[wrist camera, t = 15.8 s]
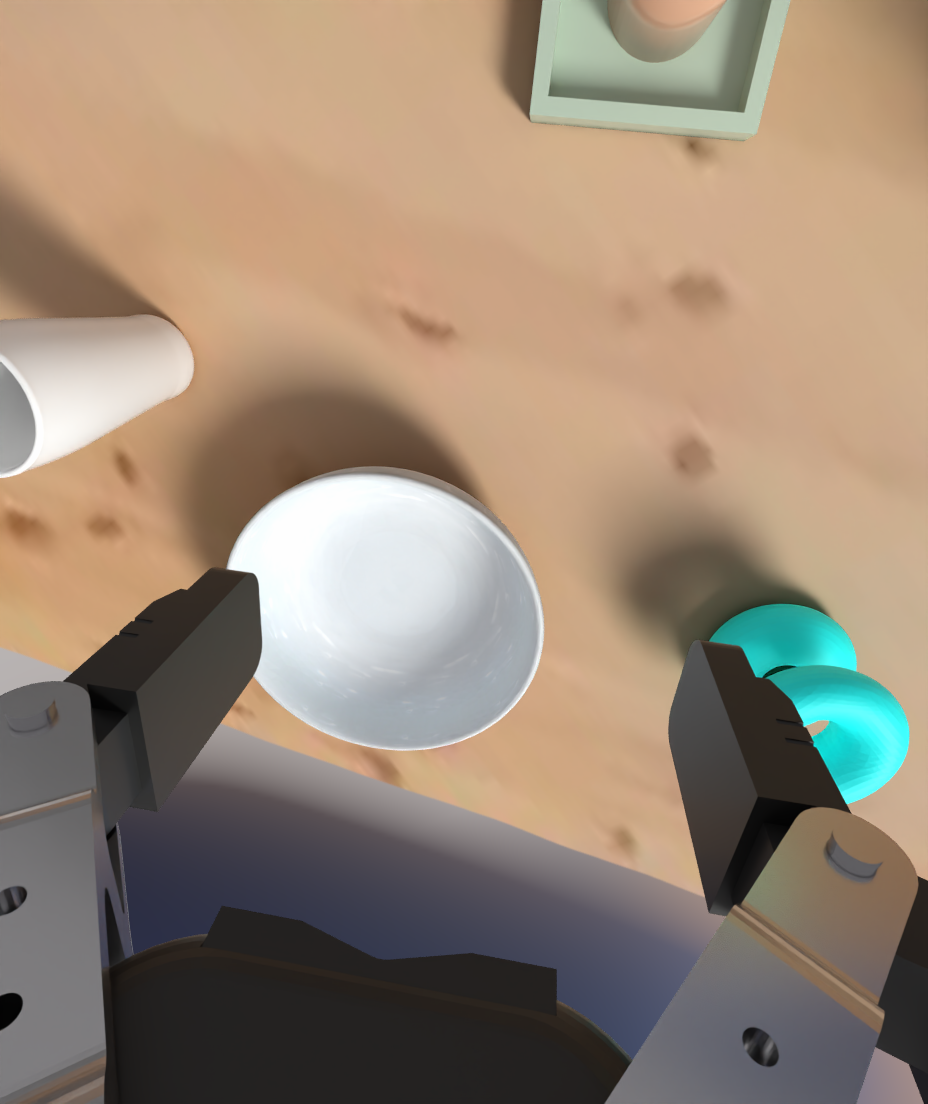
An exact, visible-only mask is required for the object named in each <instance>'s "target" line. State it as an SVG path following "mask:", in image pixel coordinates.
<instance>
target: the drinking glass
mask: <svg viewBox="0 0 928 1104" xmlns="http://www.w3.org/2000/svg"><path fill="white" fill-rule="evenodd" d="M193 374H194V358H193V354H192V350H191V348H190V346H189V343H188V342H187V340H186V338H185V337H184V336H183V334H182V333H181V332H180V331H179V330H178V329H177V328H176V327H175V326H174V325H173V324H171V323H170V322H168V321H167V320H165V319H163V318H160V317H158V316H154V315H149V314H139V315H131V316H124V317H76V318H17V319H3V320H0V478H5V477H11V476H15V475H18V474H20V473H23V472H26V471H29V470H32V469H35V468H37V467H40V466H43V465H46V464H48V463H51V462H53V461H56V460H58V459H60V458H63V457H65V456H67V455H69V454H72V453H74V452H76V451H78V450H80V449H82V448H84V447H85V446H87V445H89V444H91V443H93V442H94V441H96V440H98V439H100V438H101V437H103V436H105V435H106V434H108V433H110V432H112V431H113V430H115V429H117V428H118V427H120V426H122V425H124V424H125V423H127V422H129V421H130V420H132V419H134V418H136V417H137V416H139V415H141V414H143V413H144V412H146V411H148V410H150V409H151V408H153V407H155V406H157V405H159V404H160V403H162V402H164V401H167V400H170V399H172V398H174V397H176V396H178V395H180V394H181V393H182V392H184V391H185V390H186V389H187V387H188V386H189V384H190V383H191V380H192V377H193Z"/></svg>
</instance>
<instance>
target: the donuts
mask: <svg viewBox="0 0 928 1104" xmlns="http://www.w3.org/2000/svg"><path fill="white" fill-rule="evenodd" d="M709 641H710V642H717V643H724V644H730V645H737V646H740V647H741V648H742V649H743V651H744V653H745V655H746V657H747V659H748V661H749V663H750V665H751V668H752V670H753V672H754V674H755V676H756V677H760V678H762V677H763V676H764V675H765V674H766V673H767V672H768V671H769V670H771V669H773V668H775V667H778V666H784V665H791V666H796V667H795V668H790V669H787V670H783V671H780V672H777V673H775V674H773V675H770V676H768V677H766V679H770V680H771V681H772V682H773V683H774V684H775V685H776V686H777V687H778V688H779V689H780V690H781V691H783V692H784V693H785V694H786V695H787V696H788V697H789V698H790V699H791V700H792V701H793V703H794V705H795V707H796V709H797V711H798V713H799V715H800V717H801V719H802V720H803V722H804V726H806V725H809V724H811V723H814V722H816V721H818V720H829V724H828V725H827V727H826V728H825V729H824V730H823V731H822V732H820V733H819V734H817V735H815V736H812V737H811V738H812V739H813V741H814V747H817V749H818V751H819V753H820V755H821V757H822V758H823V760H824V762H825V764H826V766H827V768H828V770H829V772H830V774H831V776H832V778H833V779H834V781H835V783H836V785H837V787H838V789H839V791H840V793H841V795H842V797H843V798H844V800H845V802H846V804H848V803H851V802H854V801H857V800H859V799H862V798H864V797H866V796H868V795H870V794H872V793H873V792H875V791H876V790H878V789H879V788H881V787H882V786H883V785H884V784H885V783H886V782H888V781H889V780H890V779H891V778H892V777H893V776H894V774H895V773H896V772H897V771H898V769H899V768H900V766H901V765H902V763H903V761H904V759H905V756H906V754H907V750H908V745H909V726H908V722H907V719H906V716H905V713H904V711H903V709H902V707H901V705H900V704H899V703H898V701H897V700H896V698H895V697H894V696H893V695H892V694H891V693H890V692H889V691H888V690H887V689H886V688H885V687H883V686H882V685H881V684H880V683H878V682H877V681H875V680H873V679H872V678H870V677H868V676H866V675H864V674H861V673H859V672H856V665H857V661H856V654H855V650H854V647H853V644H852V642H851V640H850V638H849V637H848V635H847V634H846V632H845V631H844V630H843V629H842V627H841V626H840V625H839V624H838V623H836V622H835V621H834V620H833V619H831V618H830V617H828V616H826V615H825V614H823V613H821V612H819V611H817V610H814V609H812V608H809V607H805V606H800V605H794V604H770V605H764V606H759V607H756V608H752V609H749V610H747V611H744V612H742V613H740V614H738V615H736V616H734V617H733V618H731V619H730V620H728V621H727V622H726V623H725V624H723V625H722V626H721V627H720V628H719V629H718V630H717V631H716V632H715V633H714V635H713V636H712V637H711V639H710V640H709Z"/></svg>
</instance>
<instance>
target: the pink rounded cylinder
mask: <svg viewBox="0 0 928 1104" xmlns="http://www.w3.org/2000/svg"><path fill="white" fill-rule="evenodd" d="M726 1H727V0H607V10H608V18H609V23H610V27H611V29H612V32H613V34H614V36H615V38H616V40H617V42H618V43H619V45H620V46H621V47H622V48H623V49H624V50H625V51H626V52H627V53H628V54H629V55H631V56H632V57H634V58H636V59H638V60H641V61H644V62H649V63H660V62H666V61H669V60H672V59H674V58H676V57H679V56H680V55H682V54H684V53H685V52H687V51H688V50H689V49H690V48H691V47H693V46H694V45H695V44H696V43H697V42H698V41H699V39H700V38H701V37H702V36H703V34H704V33H705V32H706V30H707V29H708V27H709V26H710V24H711V23H712V22H713V20H714V19H715V17H716V16H717V14H718V13H719V11H720V10H721V9H722V7H723V6H724V4H725V3H726Z"/></svg>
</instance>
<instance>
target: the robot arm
mask: <svg viewBox="0 0 928 1104" xmlns="http://www.w3.org/2000/svg"><path fill="white" fill-rule="evenodd" d="M261 653H262V628H261V613H260V597H259V583H258V579H257V577H256V575H255V574H254V573H249V572H243V571H236V570H229V569H222V568H211V569H210V570H208V571H207V572H206V573H205V574H204V575H203V576H202V577H201V578H200V579H199V580H197V581H196V582H195V583H194V584H193V585H192V586H191V587H190V588H189V589H188V590H184V589H179V590H177V591H175V592H173V593H171V594H169V595H166V596H164V597H162V598H160V599H158V600H156V601H154V602H153V603H151V604H150V605H149V606H148V607H147V608H146V609H145V610H143V611H142V612H141V613H140V614H139V615H138V616H137V617H135V621H131V622H130V623H129V624H128V625H126V626H125V627H124V628H123V629H122V630H121V631H120V633H119V635H115V636H114V637H113V638H112V639H111V640H109V641H108V642H107V643H106V644H105V645H104V646H103V647H101V648H100V649H99V650H98V651H97V652H96V653H95V654H93V655H92V656H91V657H90V658H89V659H88V660H87V661H86V662H84V663H83V664H82V665H81V666H80V667H79V668H78V669H76V670H75V671H74V672H73V673H72V674H71V675H70V676H69V677H68V678H66V679H65V680H64V681H63V682H61V681H51V682H41V683H35V684H30V685H27V686H23V687H20V688H17V689H14V690H12V691H9V692H7V693H5V694H3V695H1V696H0V1104H856V1103H857V1100H858V1097H859V1094H860V1091H861V1088H862V1085H863V1082H864V1079H865V1076H866V1073H867V1070H868V1067H869V1064H870V1061H871V1058H872V1055H873V1052H874V1049H875V1047H877V1048H878V1049H881V1050H882V1051H884V1052H886V1053H888V1054H890V1055H892V1056H894V1057H896V1058H898V1059H900V1060H902V1061H904V1062H906V1063H908V1064H909V1066H910V1068H911V1071H912V1074H913V1076H914V1079H915V1082H916V1084H917V1087H918V1089H919V1092H920V1094H921V1097H922V1100H923V1102H924V1104H928V881H927V880H925V879H923V878H921V877H918V876H917V874H916V871H915V868H914V866H913V864H912V863H911V861H910V859H909V858H908V856H907V855H906V854H905V852H904V851H903V850H902V849H901V848H900V847H899V845H898V844H897V843H896V842H895V841H893V840H892V839H891V838H890V837H889V836H888V835H887V834H885V833H884V832H883V831H881V830H880V829H879V828H877V827H876V826H874V825H872V824H871V823H869V822H867V821H866V820H864V819H862V818H860V817H858V816H855V815H853V814H851V812H850V810H849V808H848V806H847V804H846V802H845V800H844V798H843V797H842V795H841V793H840V791H839V789H838V787H837V785H836V783H835V781H834V779H833V778H832V776H831V774H830V772H829V770H828V768H827V766H826V764H825V762H824V760H823V758H822V757H821V755H820V753H819V751H818V749H817V747H814V741H813V739H812V738H811V736H810V734H809V732H808V730H807V728H805V727H804V722H803V720H802V719H801V717H800V715H799V713H798V711H797V709H796V707H795V705H794V703H793V701H792V700H791V699H790V698H789V697H788V696H787V695H786V694H785V693H784V692H783V691H781V690H780V689H779V688H778V687H777V686H776V685H775V684H774V683H773V682H772V681H771V680H770V679H766V678H760V677H756V676H755V674H754V672H753V670H752V668H751V665H750V663H749V661H748V659H747V657H746V655H745V653H744V651H743V649H742V648H741V647H740V646H737V645H730V644H724V643H717V642H710V641H703V640H695V641H694V642H693V643H692V644H691V646H690V648H689V651H688V654H687V658H686V661H685V664H684V667H683V671H682V674H681V677H680V681H679V684H678V687H677V690H676V694H675V697H674V700H673V703H672V707H671V711H670V716H669V728H668V734H669V743H670V748H671V752H672V757H673V761H674V765H675V770H676V774H677V778H678V782H679V787H680V791H681V795H682V800H683V804H684V808H685V813H686V817H687V821H688V825H689V830H690V834H691V838H692V843H693V847H694V851H695V856H696V860H697V864H698V868H699V873H700V877H701V881H702V886H703V890H704V894H705V898H706V903H707V907H708V911H709V913H712V914H717V915H722V916H726V918H725V919H724V921H723V922H722V924H721V926H720V927H719V929H718V930H717V932H716V933H715V935H714V936H713V938H712V939H711V941H710V942H709V944H708V945H707V947H706V949H705V950H704V952H703V953H702V955H701V956H700V958H699V959H698V961H697V962H696V964H695V965H694V967H693V969H692V970H691V972H690V973H689V975H688V976H687V978H686V979H685V981H684V982H683V984H682V986H681V987H680V988H679V990H678V992H677V993H676V995H675V996H674V998H673V999H672V1001H671V1003H670V1004H669V1006H668V1007H667V1009H666V1010H665V1012H664V1013H663V1015H662V1016H661V1018H660V1019H659V1021H658V1023H657V1024H656V1025H655V1027H654V1029H653V1030H652V1032H651V1033H650V1035H649V1036H648V1038H647V1040H646V1041H645V1042H644V1044H643V1045H642V1047H641V1048H640V1050H639V1051H638V1053H637V1055H636V1056H635V1058H634V1059H633V1060H632V1059H631V1057H630V1056H629V1055H628V1054H627V1053H626V1052H625V1051H624V1050H623V1049H622V1048H621V1047H620V1046H619V1045H618V1044H617V1043H616V1042H615V1041H614V1040H613V1039H612V1038H611V1037H610V1036H609V1035H608V1034H606V1033H605V1032H604V1031H603V1030H602V1029H601V1028H599V1027H598V1026H597V1025H596V1024H594V1023H593V1022H592V1021H591V1020H589V1019H588V1018H586V1017H585V1016H583V1015H582V1014H580V1013H579V1012H577V1011H576V1010H574V1009H573V1008H571V1007H569V1006H567V1005H565V1004H563V1003H562V1002H560V1001H558V1000H557V996H556V994H557V991H556V989H557V975H556V973H557V970H556V969H553V968H547V967H542V966H537V965H532V964H526V963H520V962H516V961H510V960H505V959H500V958H495V957H489V956H484V955H478V954H474V953H468V954H456V955H444V956H430V957H418V958H406V959H394V960H382V959H377V958H375V957H372V956H370V955H368V954H366V953H364V952H362V951H360V950H358V949H356V948H354V947H352V946H350V945H348V944H346V943H344V942H342V941H340V940H338V939H336V938H334V937H333V936H331V935H328V934H326V933H325V932H323V931H321V930H319V929H317V928H315V927H313V926H311V925H309V924H307V923H305V922H303V921H300V920H294V919H289V918H283V917H278V916H273V915H268V914H263V913H257V912H252V911H247V910H242V909H236V908H231V907H225V906H222V907H221V909H220V911H219V913H218V915H217V917H216V919H215V921H214V923H213V925H212V927H211V929H210V931H209V933H208V934H202V935H195V936H190V937H185V938H180V939H176V940H172V941H169V942H166V943H163V944H160V945H156V946H153V947H151V948H149V949H146V950H144V951H142V952H139V953H137V954H135V955H133V950H132V943H131V935H130V927H129V917H128V908H127V898H126V890H125V889H126V888H125V878H124V869H123V859H122V849H121V839H120V832H119V827H118V823H117V822H118V821H119V820H120V818H121V817H122V816H123V814H124V813H125V811H126V810H127V809H128V808H129V807H133V808H139V809H145V810H150V811H156V812H158V811H159V809H160V808H161V806H162V805H163V804H164V802H165V801H166V799H167V798H168V796H169V795H170V794H171V792H172V790H173V789H174V788H175V787H176V785H177V784H178V782H179V781H180V779H181V778H182V777H183V775H184V774H185V772H186V771H187V769H188V768H189V767H190V765H191V763H192V762H193V761H194V760H195V758H196V757H197V755H198V754H199V752H200V751H201V749H202V748H203V747H204V745H205V744H206V743H207V741H208V740H209V738H210V737H211V735H212V734H213V733H214V731H215V729H216V728H217V727H218V725H219V724H220V723H221V721H222V720H223V718H224V717H225V716H226V714H227V713H228V711H229V710H230V708H231V707H232V706H233V704H234V703H235V701H236V700H237V698H238V697H239V696H240V694H241V693H242V691H243V690H244V689H245V687H246V686H247V684H248V683H249V681H250V680H251V679H252V677H253V676H254V674H255V672H256V670H257V668H258V665H259V662H260V658H261Z"/></svg>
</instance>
